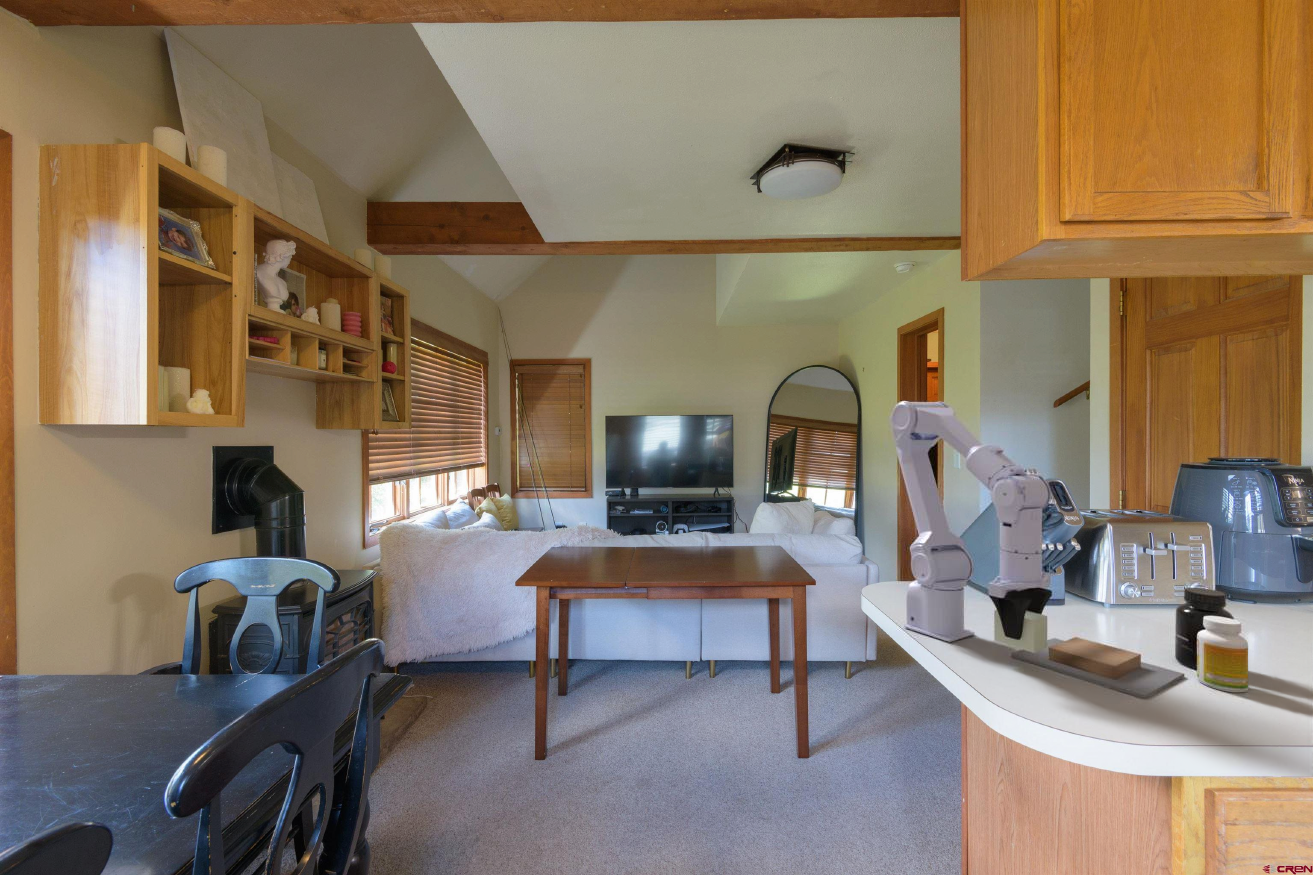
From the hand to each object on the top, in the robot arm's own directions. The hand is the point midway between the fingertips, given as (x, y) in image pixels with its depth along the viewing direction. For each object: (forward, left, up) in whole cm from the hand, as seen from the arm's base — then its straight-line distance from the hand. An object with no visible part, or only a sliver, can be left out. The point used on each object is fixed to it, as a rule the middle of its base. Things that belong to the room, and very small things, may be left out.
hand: (1020, 635), depth 92 cm
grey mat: (+6, +10, -5) cm, 13 cm away
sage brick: (0, 0, -1) cm, 1 cm away
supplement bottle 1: (+15, +25, -5) cm, 30 cm away
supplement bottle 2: (+19, +18, -5) cm, 27 cm away
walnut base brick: (+6, +10, -5) cm, 13 cm away
